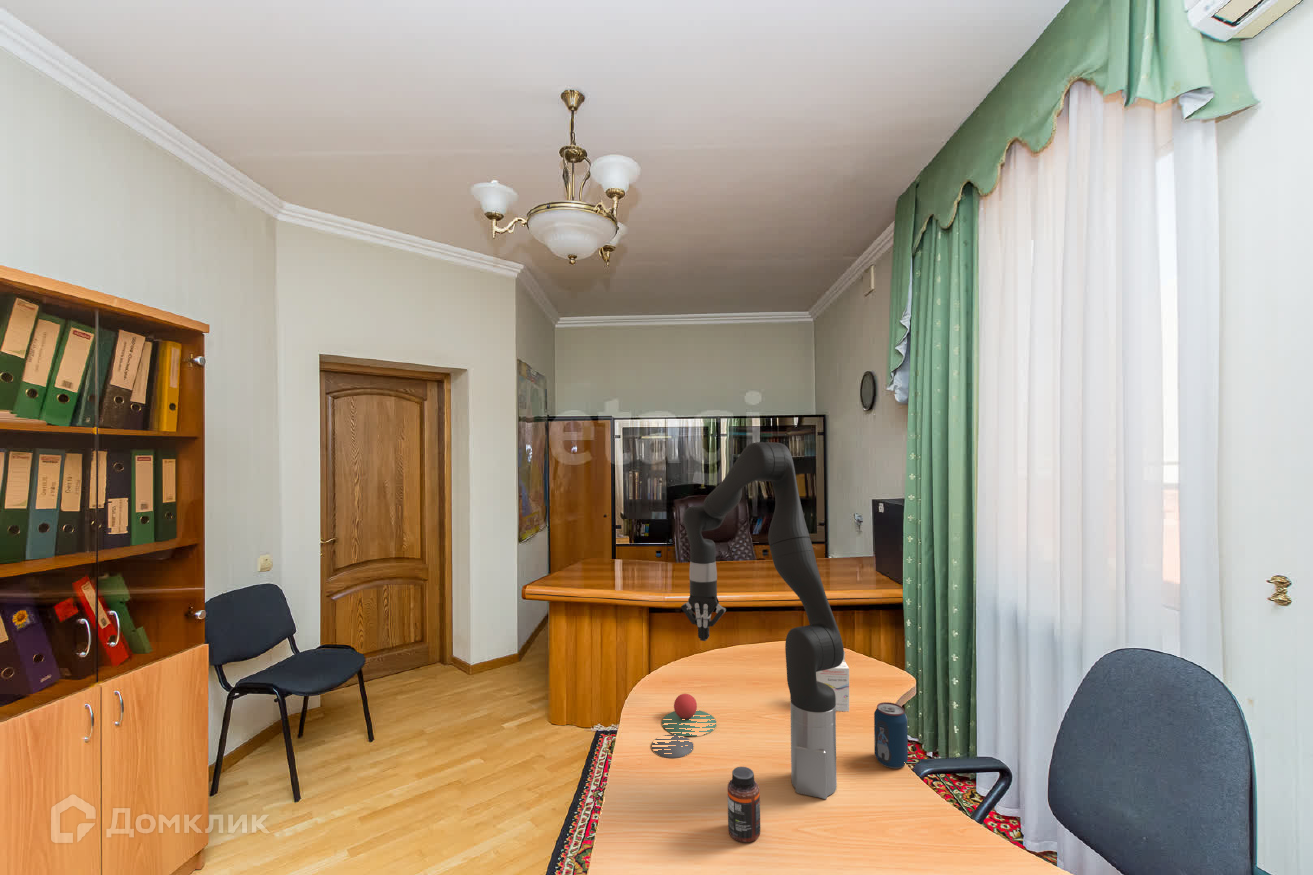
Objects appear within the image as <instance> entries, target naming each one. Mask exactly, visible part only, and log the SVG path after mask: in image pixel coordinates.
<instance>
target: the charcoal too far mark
mask: <svg viewBox="0 0 1313 875" xmlns="http://www.w3.org/2000/svg"><path fill="white" fill-rule="evenodd" d="M663 736H674V737H672V738H671V739H657V738H655V739H654V740H677V741H671V742H669V743H665V742H657V743H658V744H655V743H653V741H652V742H651V745H676V746H668V747H652V748H651V750H652V749H662V750H658V751H654V752H655V753H657V754H658V755H657V754H656V755H657V756H659V755H660V756H659V757H662V758H665V757H666V759H667V758H668V759H679V758H683V757H686V756H688V755H690V754H691V753H692V752H693V750H694V748H693V747H694V746H693V745H694V743H693V742H689V741H684V742H680V741H678V740H691V739H689V737H686V738H683V737H680V738H679V737H678V736H680V735H674V734H666V735H663ZM685 745H688V746H685ZM681 746H683V747H681ZM664 749H671V750H664ZM691 749H692V750H691ZM654 752H653V753H654ZM655 753H654V754H655ZM664 753H672V754H664ZM689 753H690V754H689ZM687 754H688V755H687ZM685 755H686V756H685Z"/></svg>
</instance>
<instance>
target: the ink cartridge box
mask: <svg viewBox="0 0 1313 875" xmlns="http://www.w3.org/2000/svg"><path fill="white" fill-rule="evenodd" d="M845 659H846V652H845V650H844V657H843V661H842V663H841V664H840V665H839V666H838V667H835V668H831V669H827V670H823V671H818V672H816V678H817V681H819V682H822V683H824V684H826V685H828V686H830V687H831V688H832V689H833V690H834V692H835V696H836V712H847V711H848V712H850V667H849V666H848V664H847V662H846V660H845Z"/></svg>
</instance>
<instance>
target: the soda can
mask: <svg viewBox="0 0 1313 875" xmlns="http://www.w3.org/2000/svg"><path fill="white" fill-rule="evenodd" d="M873 719H874V720H873V723H874V724H873V725H874V726H873V727H874V730H873V731H874V734H873V735H874V736H873V737H874V741H873V742H874V755H875V758H876V760H878V762H879V764H881V765H882V766H883V767H886V768H890V769H901V768H903V767H905V765H906V764H905V763H907V762H908V760H909V758H908V757H909V755H908V754H909V752H908V751H909V750H908V749H909V748H908V747H909V746H908V745H909V744H908V738H909V734H908V716H907V714H906V713H905V709H904V707H903V706H901V705H899V704H897V703H894V702H886V701H885V702H879V703H878V704H877V706H876V709H875V711H874V713H873ZM904 762H905V763H904Z"/></svg>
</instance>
